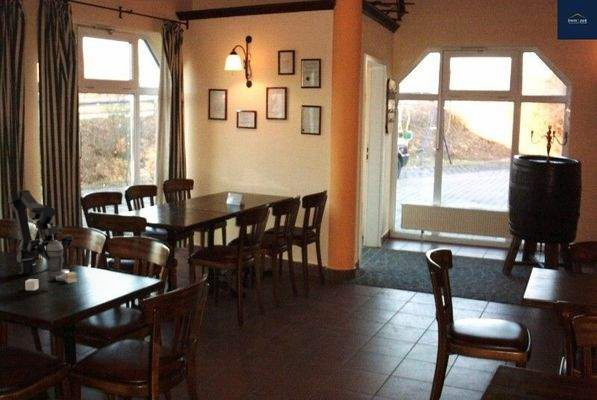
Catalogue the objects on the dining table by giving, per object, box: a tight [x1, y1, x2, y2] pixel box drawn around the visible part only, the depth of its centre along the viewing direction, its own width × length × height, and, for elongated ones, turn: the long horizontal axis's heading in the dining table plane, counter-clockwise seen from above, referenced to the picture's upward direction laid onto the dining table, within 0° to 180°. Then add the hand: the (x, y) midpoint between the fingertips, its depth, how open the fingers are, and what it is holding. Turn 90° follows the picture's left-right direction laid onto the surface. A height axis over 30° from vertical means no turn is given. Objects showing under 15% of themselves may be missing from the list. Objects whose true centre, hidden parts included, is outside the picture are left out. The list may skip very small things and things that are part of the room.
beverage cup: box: [45, 234, 64, 278], centre depth 283 cm, size 7×7×20 cm
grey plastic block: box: [24, 278, 40, 291], centre depth 283 cm, size 4×4×4 cm
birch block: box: [64, 271, 78, 284], centre depth 296 cm, size 4×4×4 cm
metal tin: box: [55, 268, 70, 282], centre depth 299 cm, size 6×6×4 cm
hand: (56, 259), depth 283 cm, fingers closed on beverage cup, 7 cm apart
